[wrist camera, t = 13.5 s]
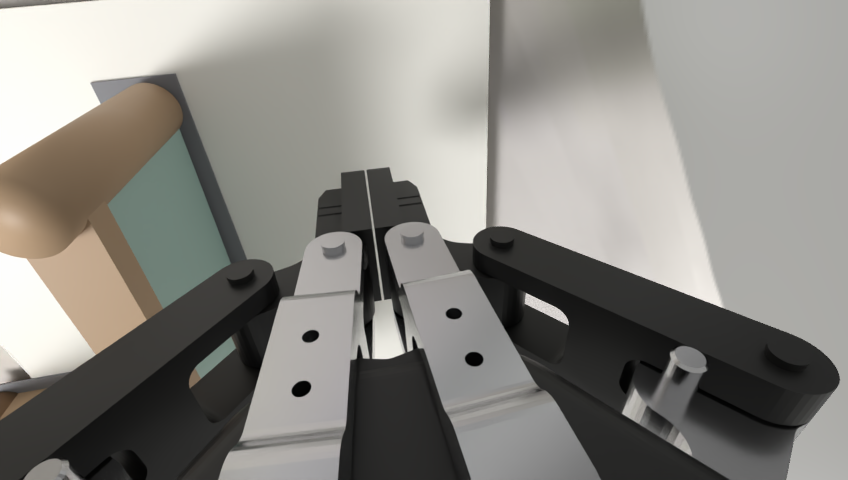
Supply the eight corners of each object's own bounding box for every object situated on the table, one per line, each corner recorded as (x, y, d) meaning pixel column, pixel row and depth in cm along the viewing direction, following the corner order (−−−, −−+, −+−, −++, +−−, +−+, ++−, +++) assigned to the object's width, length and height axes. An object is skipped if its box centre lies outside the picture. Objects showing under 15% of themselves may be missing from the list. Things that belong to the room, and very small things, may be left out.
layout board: (485, -34, 14) (491, -34, 14) (480, 398, 28) (483, 408, 27) (-347, 38, 12) (-382, 43, 11) (94, 474, 25) (88, 486, 25)
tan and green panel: (270, 349, 21) (243, 504, 15) (232, 355, 20) (190, 514, 15) (170, 80, 14) (41, 172, 8) (111, 85, 13) (-70, 184, 7)
